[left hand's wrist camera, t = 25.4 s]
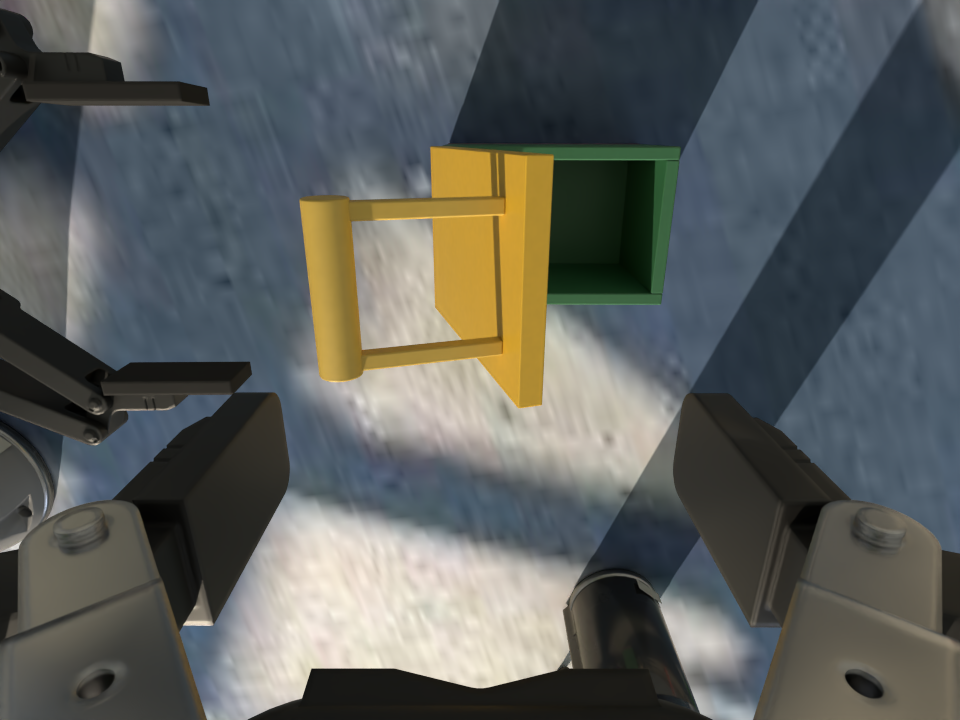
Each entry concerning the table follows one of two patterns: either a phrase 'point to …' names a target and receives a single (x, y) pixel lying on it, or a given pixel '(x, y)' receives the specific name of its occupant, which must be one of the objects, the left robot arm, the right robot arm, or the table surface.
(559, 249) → the chest
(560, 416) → the table surface
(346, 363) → the lid
